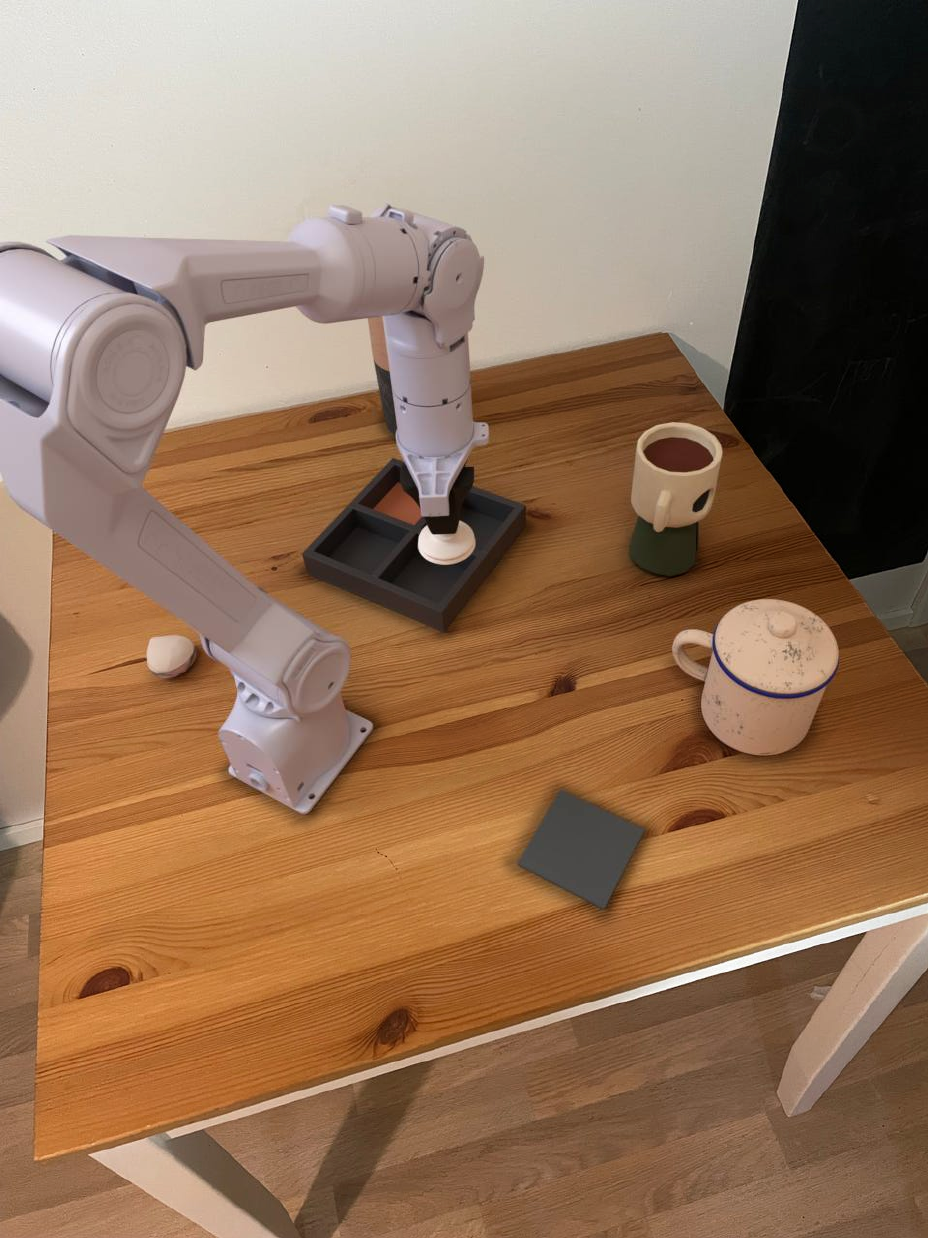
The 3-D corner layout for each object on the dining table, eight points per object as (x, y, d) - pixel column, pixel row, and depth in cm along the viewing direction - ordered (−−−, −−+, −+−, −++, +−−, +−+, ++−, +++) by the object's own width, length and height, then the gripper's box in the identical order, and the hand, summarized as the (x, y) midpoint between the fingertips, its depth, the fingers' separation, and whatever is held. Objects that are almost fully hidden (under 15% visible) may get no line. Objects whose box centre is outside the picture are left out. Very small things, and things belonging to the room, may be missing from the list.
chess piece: (477, 524, 80) (472, 434, 73) (472, 566, 77) (466, 476, 70) (422, 522, 81) (411, 432, 73) (414, 563, 78) (402, 474, 70)
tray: (444, 632, 82) (442, 612, 80) (307, 573, 88) (301, 553, 86) (526, 526, 91) (526, 504, 88) (395, 478, 96) (392, 457, 94)
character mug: (686, 606, 83) (708, 499, 73) (609, 587, 85) (620, 480, 75) (712, 526, 89) (735, 417, 79) (640, 510, 91) (653, 401, 81)
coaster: (604, 910, 65) (604, 908, 65) (517, 865, 68) (517, 863, 67) (644, 831, 69) (645, 829, 69) (560, 791, 71) (560, 789, 71)
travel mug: (445, 443, 99) (429, 270, 84) (376, 439, 101) (348, 267, 85) (456, 400, 104) (444, 229, 89) (390, 397, 105) (367, 227, 90)
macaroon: (168, 691, 80) (159, 673, 78) (135, 661, 82) (126, 644, 80) (208, 661, 82) (200, 643, 80) (175, 633, 84) (166, 615, 82)
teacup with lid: (824, 690, 76) (862, 596, 67) (797, 777, 71) (834, 688, 62) (683, 643, 80) (701, 549, 71) (647, 723, 75) (663, 632, 66)
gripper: (487, 445, 62) (493, 583, 72) (485, 324, 71) (491, 462, 81) (382, 449, 62) (403, 586, 72) (394, 328, 71) (411, 465, 82)
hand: (444, 520), depth 77 cm, fingers closed on chess piece
